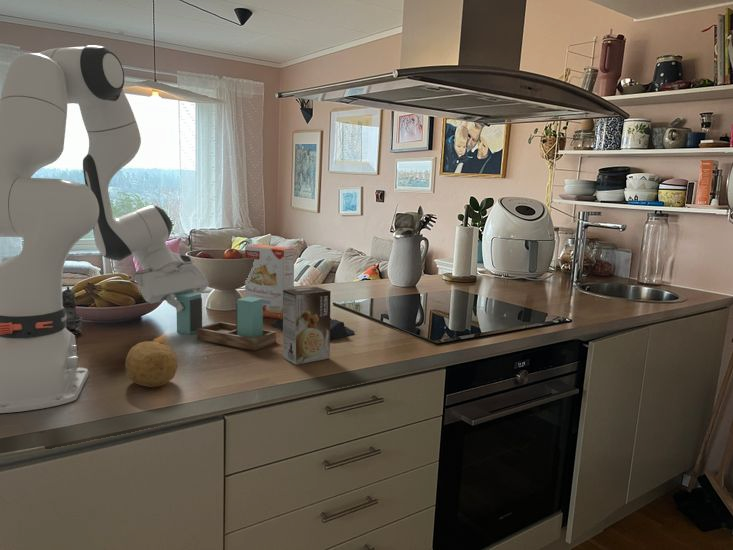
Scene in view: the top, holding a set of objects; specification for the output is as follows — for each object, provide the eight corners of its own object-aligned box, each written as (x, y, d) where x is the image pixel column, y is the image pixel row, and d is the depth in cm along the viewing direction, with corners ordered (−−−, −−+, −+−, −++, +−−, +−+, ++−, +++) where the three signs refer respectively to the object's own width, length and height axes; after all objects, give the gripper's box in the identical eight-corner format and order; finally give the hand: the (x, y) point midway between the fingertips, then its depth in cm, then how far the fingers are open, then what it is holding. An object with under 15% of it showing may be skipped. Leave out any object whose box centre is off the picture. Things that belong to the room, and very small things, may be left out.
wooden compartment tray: (276, 342, 139) (276, 331, 139) (255, 350, 132) (255, 339, 131) (219, 331, 147) (219, 321, 146) (197, 338, 139) (196, 328, 139)
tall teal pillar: (203, 331, 147) (202, 294, 145) (191, 334, 143) (190, 296, 141) (189, 328, 149) (188, 291, 147) (176, 331, 145) (176, 294, 143)
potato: (166, 369, 117) (166, 332, 115) (187, 391, 105) (187, 350, 104) (117, 377, 111) (115, 338, 110) (133, 400, 100) (132, 358, 99)
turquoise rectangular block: (262, 337, 138) (262, 298, 137) (251, 341, 134) (251, 301, 133) (246, 334, 140) (246, 296, 139) (235, 338, 136) (235, 299, 135)
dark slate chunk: (312, 319, 165) (313, 304, 164) (359, 337, 148) (359, 320, 148) (267, 326, 155) (267, 310, 155) (311, 346, 139) (311, 327, 138)
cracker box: (243, 314, 167) (243, 245, 163) (256, 310, 172) (256, 243, 169) (282, 320, 161) (283, 249, 157) (294, 316, 166) (295, 247, 163)
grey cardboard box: (316, 351, 133) (317, 286, 130) (330, 359, 128) (332, 290, 125) (281, 357, 127) (282, 289, 125) (295, 365, 122) (296, 294, 120)
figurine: (52, 333, 139) (49, 286, 137) (73, 328, 145) (71, 283, 143) (66, 337, 137) (64, 289, 135) (88, 331, 142) (86, 285, 140)
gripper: (136, 264, 137) (166, 308, 134) (195, 255, 155) (223, 294, 152) (124, 280, 139) (153, 323, 137) (183, 270, 157) (210, 308, 155)
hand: (190, 307), depth 145 cm, fingers closed on tall teal pillar, 4 cm apart
